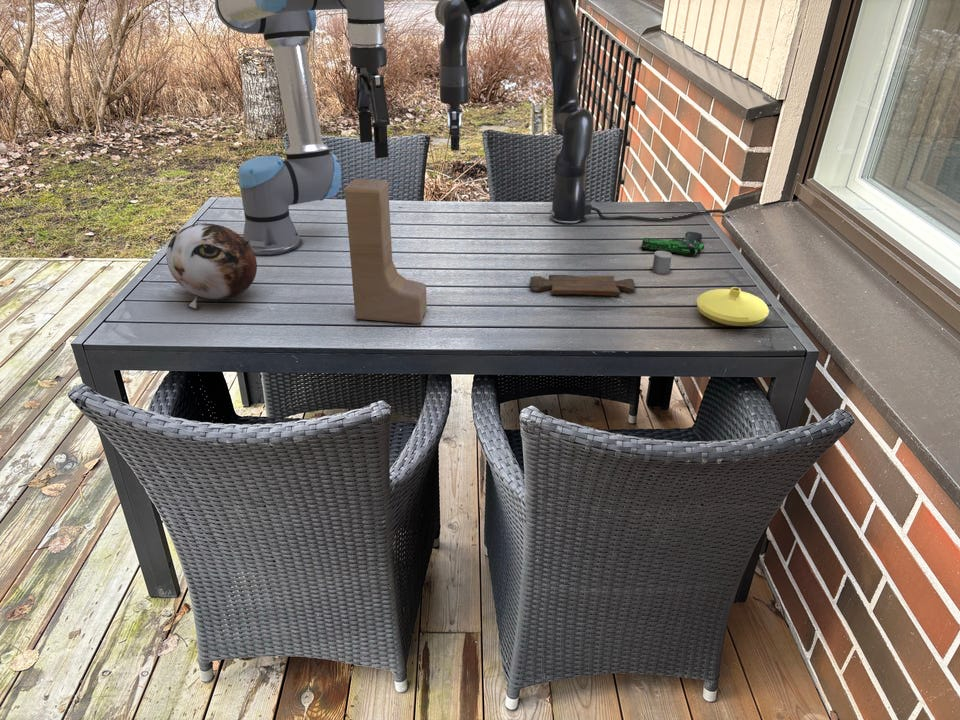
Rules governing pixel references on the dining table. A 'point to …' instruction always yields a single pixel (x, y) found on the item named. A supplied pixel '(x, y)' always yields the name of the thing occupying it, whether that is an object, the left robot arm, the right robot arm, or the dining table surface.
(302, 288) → the dining table surface
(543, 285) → the wooden paddle board
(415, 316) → the decorative block
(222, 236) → the plush toy
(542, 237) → the dining table surface
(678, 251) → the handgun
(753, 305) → the yellow lid
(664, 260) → the can
